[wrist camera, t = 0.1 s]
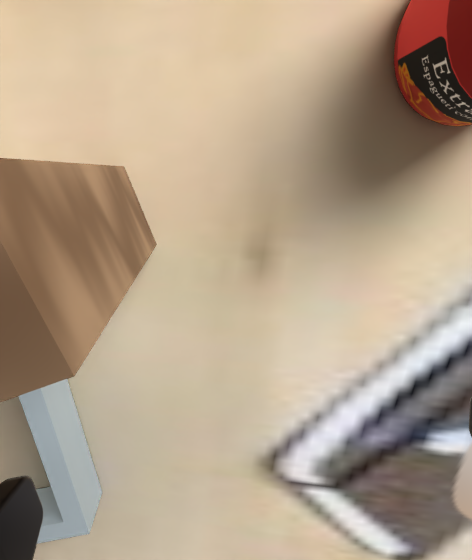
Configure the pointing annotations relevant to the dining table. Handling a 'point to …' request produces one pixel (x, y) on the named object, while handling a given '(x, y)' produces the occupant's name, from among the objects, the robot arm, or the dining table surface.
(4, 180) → the tall wooden post
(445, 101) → the canned food
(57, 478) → the frame
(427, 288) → the dining table surface
